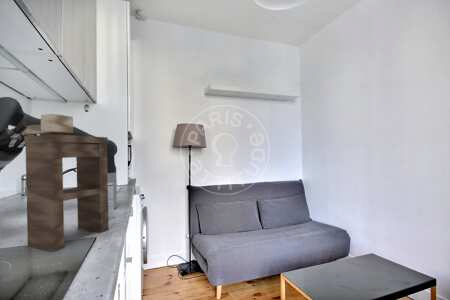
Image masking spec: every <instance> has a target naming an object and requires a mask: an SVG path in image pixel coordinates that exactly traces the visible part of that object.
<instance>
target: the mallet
mask: <svg viewBox="0 0 450 300" xmlns="http://www.w3.org/2000/svg"><path fill="white" fill-rule="evenodd" d="M40 119H41V125H29V126H26V129H25V130H24V131H23V132H22V133H21V134H23V135H29V134H37V135H39V134H47V133H73V126H74V117H73V116H71V115H63V114H58V113H57V114H56V113H48V114H47V113H46V114H41V115H40Z"/></svg>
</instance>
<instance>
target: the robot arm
mask: <svg viewBox="0 0 450 300" xmlns="http://www.w3.org/2000/svg"><path fill="white" fill-rule="evenodd" d="M29 125H41V118H37V117H35V116H33V115H30V114H28V113H27V112H24V110H23V107H22V105H21V103H20V102H19V101H18V100H17V99H15V98H14V97H11V96H3V97H0V172H1V171H2V170H3V169H4V168H5V167H6V166H7V165H9V164H10V163H12V162H13V161H14V160H15V159H16V158H17V157H18V156H19V155H20V154H21V153H22V152H23V150H24V148H26V143H24V136H34V135H48V134H57V135H74V136H92V137H97V136H95V135H93V134H90V133H88V132H86V131H85V130H82V129H81V128H78V127H76V126H74V125H73V133H47V134H29V135H23V134H21V133H22V132H23V131H24V130H25V129H26V126H29ZM9 126H10V127H12V128H11V129H9ZM117 153H118V146H117V144H116V143H115V142H114V141H112V140H111V139H108V143H107V178H108V183H113V199H114V210H115V209H117V208H118V194H117V193H118V188H117V187H118V186H117V183H118V182H117V180H118V179H117V166H116V163H115V156H116V155H117Z"/></svg>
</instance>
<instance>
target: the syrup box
mask: <svg viewBox="0 0 450 300" xmlns="http://www.w3.org/2000/svg"><path fill="white" fill-rule="evenodd" d="M114 210H115V209H114V199H113V183H108V220H110V219H113V218H114V217H115V216H114V215H115V214H114V213H115V212H114Z"/></svg>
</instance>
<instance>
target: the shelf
mask: <svg viewBox="0 0 450 300" xmlns="http://www.w3.org/2000/svg"><path fill="white" fill-rule="evenodd" d="M108 140H109V137H106V136H96V137H92V136H74V135H57V134H48V135H39V134H37V135H34V136H24V143H26V146H25V176H26V180H25V181H26V182H25V186H26V227H27V228H26V229H27V248H32V249H35V250H41V251H46V252H51V253H55V252H56V251H59V250H62V249H64V248H65V224H64V223H65V217H64V214H65V213H64V212H65V211H64V202H65V201H70V200H74V199H75V200H77V201H76V202H77V204H76V205H77V230H80V231H88V232H93V233H99V234H101V233H104V232H106V231H109V230H110V228H109V219H108V178H107V143H108ZM66 158H67V159H68V158H76V159H75V160H76V187H70V188H64V179H63V178H64V177H63V176H64V175H63V172H64V171H63V170H64V169H63V163H64V162H63V159H66Z"/></svg>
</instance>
